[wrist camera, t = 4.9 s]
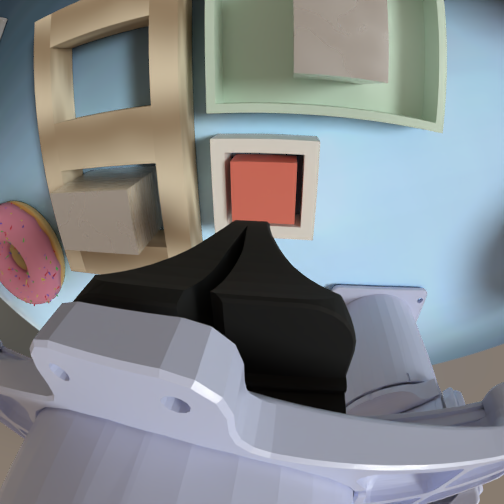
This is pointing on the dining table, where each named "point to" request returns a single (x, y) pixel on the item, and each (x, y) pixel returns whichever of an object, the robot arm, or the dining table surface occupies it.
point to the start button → (263, 187)
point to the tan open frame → (123, 118)
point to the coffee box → (2, 25)
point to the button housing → (266, 144)
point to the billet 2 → (341, 40)
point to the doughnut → (29, 254)
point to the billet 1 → (109, 210)
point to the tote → (323, 91)
